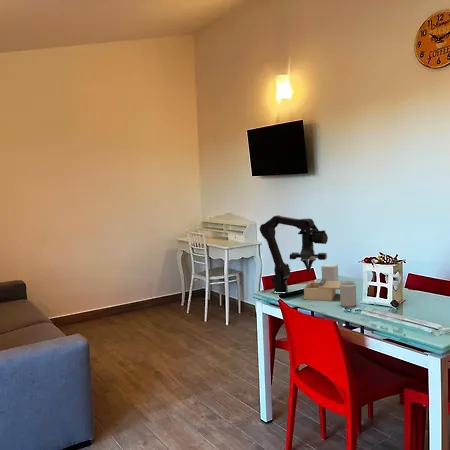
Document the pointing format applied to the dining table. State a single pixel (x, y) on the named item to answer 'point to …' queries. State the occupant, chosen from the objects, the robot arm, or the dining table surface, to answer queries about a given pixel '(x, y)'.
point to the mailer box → (318, 292)
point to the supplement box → (330, 272)
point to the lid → (329, 284)
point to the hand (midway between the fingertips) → (308, 272)
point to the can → (348, 293)
